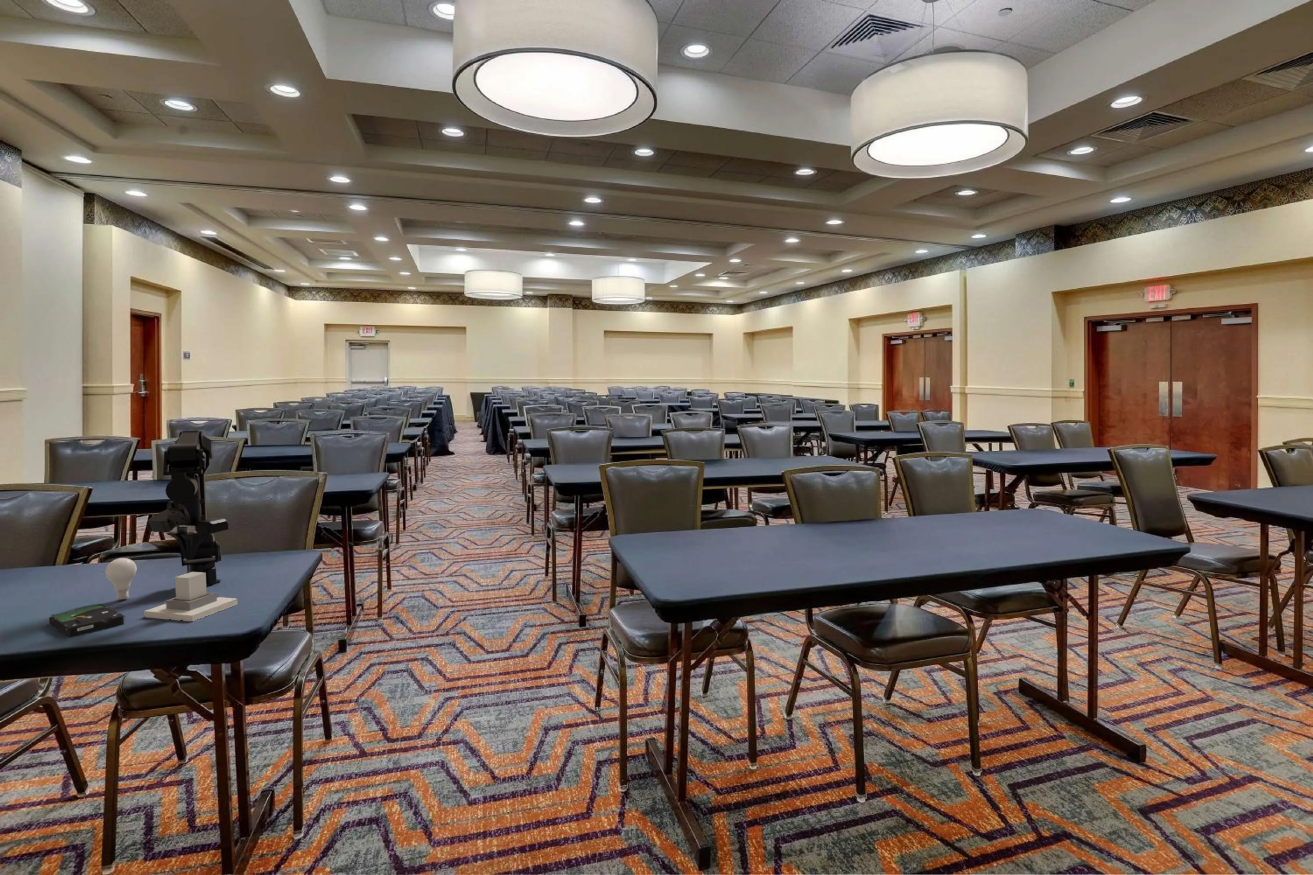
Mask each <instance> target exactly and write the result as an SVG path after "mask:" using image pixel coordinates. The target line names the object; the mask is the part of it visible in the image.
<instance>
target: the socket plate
mask: <svg viewBox="0 0 1313 875" xmlns="http://www.w3.org/2000/svg"><path fill="white" fill-rule="evenodd" d="M237 605H238V598H234V597H223V596H219V594H217V592H208V591H207V594H206V595H204V597H201V598H198V599H195V600H192V601H180V600H179V599H176V596H175V597H172V598H170V599H166V600H165V603H164V604H162V605H158V606H155V607H152V608H149V609H145V610H144V612H143V613H144V618H148V619H149V618H150V619H160V620H161V619H162V620H169V619H171V621H180V620H183V622H191V621H193V622H196V621H198V620H200V618H201V619H203V618H206V617H208V615H209V616H211V615H213V614H216V613H219V612H221V611H223V610H227V609H229V608H231V607H235V606H237ZM218 611H219V612H218ZM205 616H206V617H205ZM197 619H198V620H197ZM195 620H196V621H195Z"/></svg>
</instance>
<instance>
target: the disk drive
mask: <svg viewBox="0 0 1313 875" xmlns="http://www.w3.org/2000/svg"><path fill="white" fill-rule="evenodd" d="M48 622H49V623H48V624H49V625H50V626H51V627H53V628H54V629H56V630H57V631H59V632H60V633H63V634H64V635H65V636H66V637H69V638H73V637H77V636H82V635H85V634H90V633H93V632H97V631H98V632H99V631H102V629H103V630H105V629H111V628H115V627H120V626H123V625H125V615H124V614H122V613H120V612H118V611H116V610H114V609H112V608H111V607H109V606H107V605H104V604H103V603H99V604H95V605H94V604H93V605H89V606H85V607H80V608H75V609H73V610H69V611H64V612H60V613H56V614H55V613H54V614H51V615H49V617H48Z"/></svg>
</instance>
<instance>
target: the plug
mask: <svg viewBox="0 0 1313 875" xmlns="http://www.w3.org/2000/svg"><path fill="white" fill-rule="evenodd" d="M174 581H175V582H174V584H175V586H174V587H175V597H176V599H179V600H180V601H192V600H195V599H198V598H201V597H204V595H206V594H207V592H208V591H207V586H206V573H202V572H190V573H184V574H181V575H177V576H174Z"/></svg>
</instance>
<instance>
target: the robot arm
mask: <svg viewBox="0 0 1313 875" xmlns="http://www.w3.org/2000/svg"><path fill="white" fill-rule="evenodd" d="M178 435H179V436H178V438H177V439H176V440H175V441H174V443H173V444H170V445H168V446H167V449H166V450H164V452H163V465H162V466H163V468H162V470H163V471H162V474H163V476H164V477H165V476H170V477H171V478H170V481H169V482H168V483H167V485H166V487H165V495H166V497H167V498H168V499H169V500H170V501H168V502H167V503H166V509H165V510H163V511H160V512H159V513H157V514H155V515H153V516H152V517H150V518H149V519H148V521H147V522H146V531H147V532H153V533H157V532H159V533H160V532H161V533H163V534H165V533H166V535H167V536H170V537H172V538H174V539H175V540H176V542H177V544H178V546H180V549H179V550H180V560H181V566H182V567H185V566H186V572H187V573H190V572H202V573H206V587H207V586H211V585H214V584H217V583H220V582H221V581H222V580H221V579H218V578H217V567H216V563H219V562H221V561H222V551H221V545H220V544H219V543H218V541H217V540H215V533H219V532H223V531H226V530H227V531H228V530H229V521H228V520H227V519H226V518H219V517H217V518H216V517H212V518H208V517H207V515H208V514H207V494H206V493H207V491H206V489H207V488H206V473H207V471H208V469H209V468H210V466H211V465H212V460H214V446H213V442H212V439H211V438H208V437H207V436H205V435H204V434H203V430H199V429H194V430H190V429H188V430H181V431H179V433H178ZM187 573H186V574H187Z"/></svg>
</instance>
